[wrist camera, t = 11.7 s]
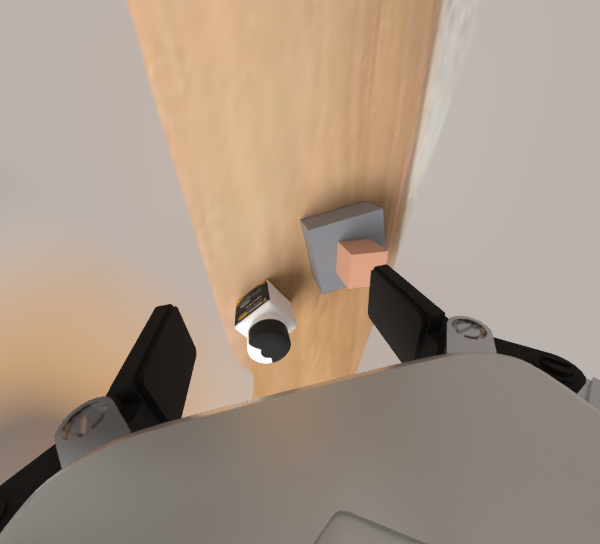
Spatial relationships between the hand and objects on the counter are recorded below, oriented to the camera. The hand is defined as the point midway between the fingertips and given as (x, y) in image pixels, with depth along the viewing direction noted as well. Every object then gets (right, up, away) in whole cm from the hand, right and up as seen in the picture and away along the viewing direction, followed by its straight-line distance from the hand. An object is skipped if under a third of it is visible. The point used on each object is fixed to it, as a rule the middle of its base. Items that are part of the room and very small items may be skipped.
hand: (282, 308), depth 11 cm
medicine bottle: (-6, -4, +31) cm, 32 cm away
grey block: (+7, +7, +29) cm, 30 cm away
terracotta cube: (+9, +4, +24) cm, 25 cm away
